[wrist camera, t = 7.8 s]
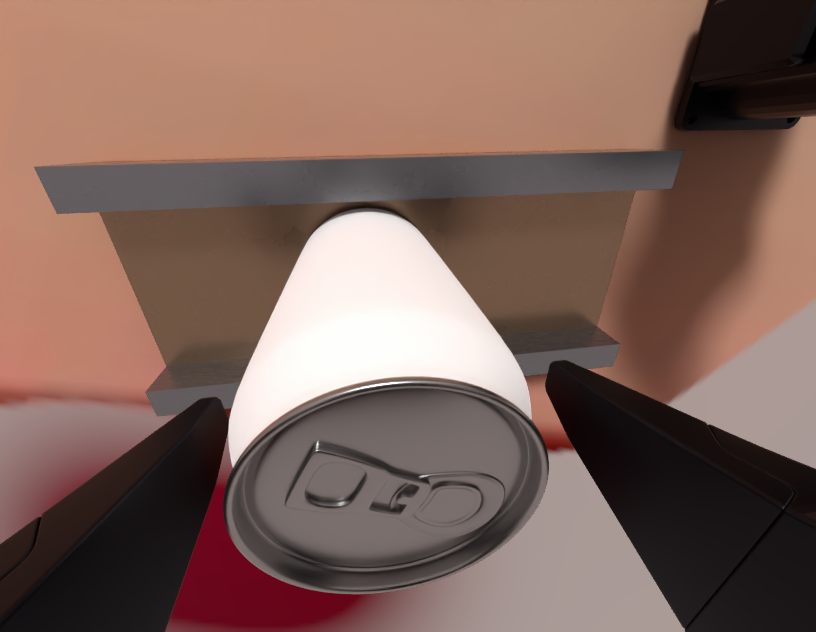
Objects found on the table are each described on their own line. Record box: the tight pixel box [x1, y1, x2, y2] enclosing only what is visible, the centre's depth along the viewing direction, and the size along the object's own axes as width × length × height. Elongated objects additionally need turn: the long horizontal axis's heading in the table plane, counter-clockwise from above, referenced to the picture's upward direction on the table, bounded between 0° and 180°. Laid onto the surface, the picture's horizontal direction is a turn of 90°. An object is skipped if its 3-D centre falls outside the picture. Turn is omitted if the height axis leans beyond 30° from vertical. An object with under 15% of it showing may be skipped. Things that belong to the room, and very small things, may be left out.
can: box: [223, 208, 549, 594], centre depth 11 cm, size 6×6×12 cm
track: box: [34, 149, 684, 416], centre depth 16 cm, size 24×11×3 cm, turn 91°
